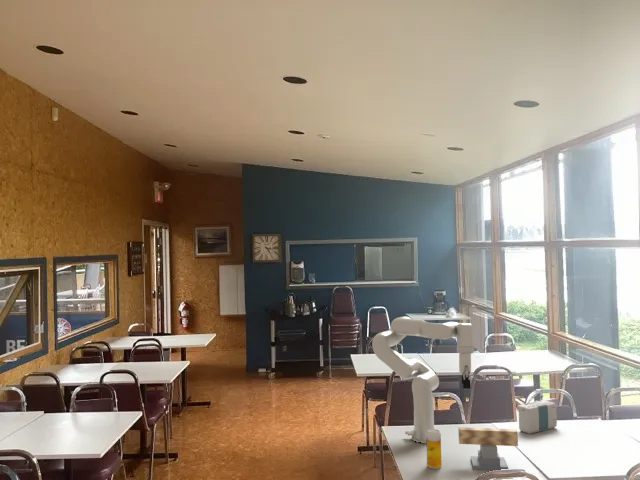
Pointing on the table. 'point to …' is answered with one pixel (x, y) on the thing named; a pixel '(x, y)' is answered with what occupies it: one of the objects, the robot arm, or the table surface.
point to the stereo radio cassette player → (537, 416)
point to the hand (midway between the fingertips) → (466, 386)
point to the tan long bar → (488, 436)
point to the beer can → (433, 448)
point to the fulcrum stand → (488, 459)
